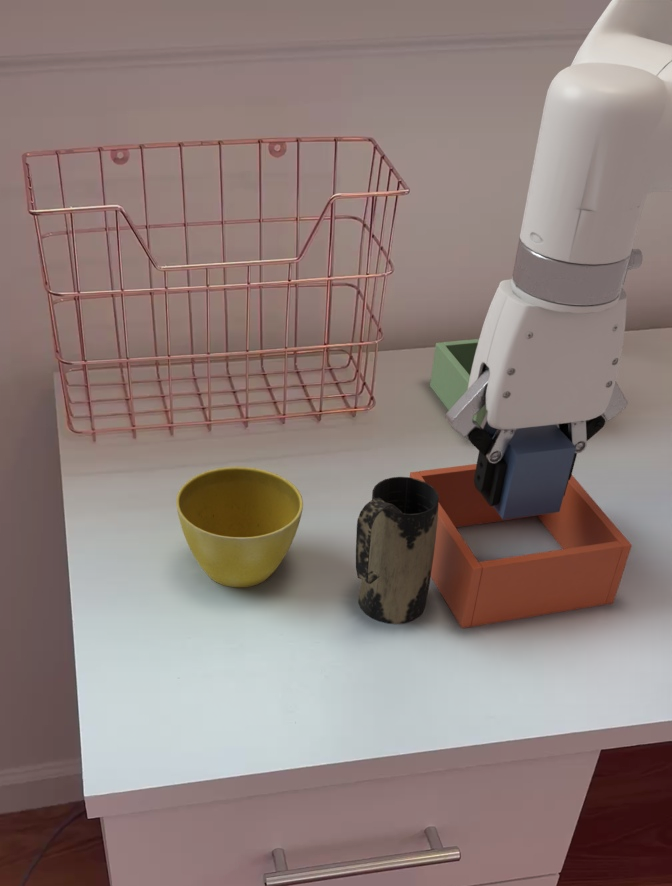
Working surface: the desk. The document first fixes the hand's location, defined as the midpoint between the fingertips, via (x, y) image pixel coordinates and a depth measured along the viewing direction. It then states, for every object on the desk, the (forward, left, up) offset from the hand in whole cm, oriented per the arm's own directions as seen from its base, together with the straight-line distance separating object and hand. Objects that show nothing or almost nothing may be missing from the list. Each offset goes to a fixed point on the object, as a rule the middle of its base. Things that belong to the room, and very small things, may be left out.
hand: (519, 490), depth 83 cm
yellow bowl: (+22, -5, -9) cm, 24 cm away
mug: (+12, +3, -9) cm, 15 cm away
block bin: (0, 0, -8) cm, 8 cm away
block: (0, 0, -1) cm, 1 cm away
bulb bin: (-11, -25, -8) cm, 29 cm away
